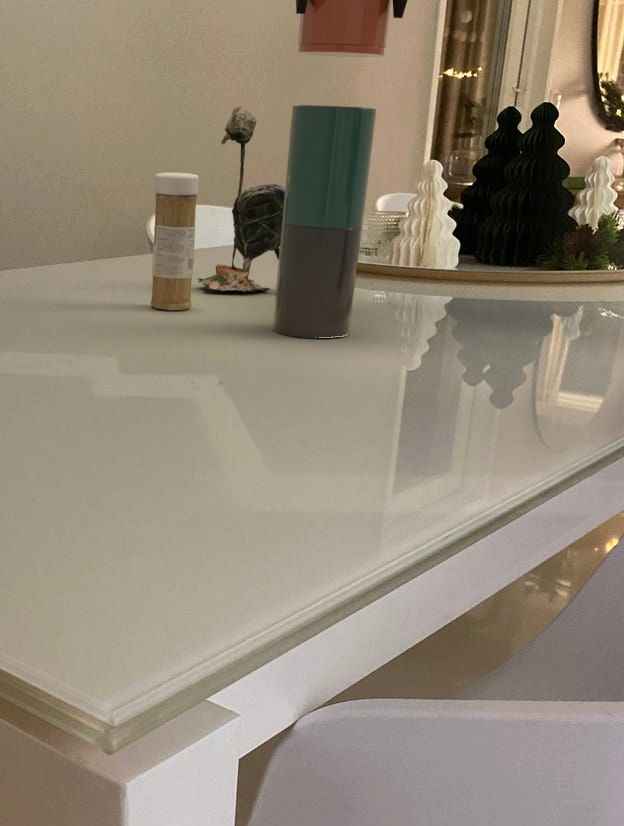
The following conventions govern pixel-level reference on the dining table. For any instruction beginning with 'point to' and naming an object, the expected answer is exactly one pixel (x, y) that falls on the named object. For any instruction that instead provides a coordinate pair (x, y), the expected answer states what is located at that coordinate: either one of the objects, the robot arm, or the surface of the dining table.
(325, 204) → the cup stack
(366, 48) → the terracotta cup
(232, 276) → the plant with pod
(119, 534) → the dining table surface
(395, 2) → the robot arm
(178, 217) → the brown spice jar
